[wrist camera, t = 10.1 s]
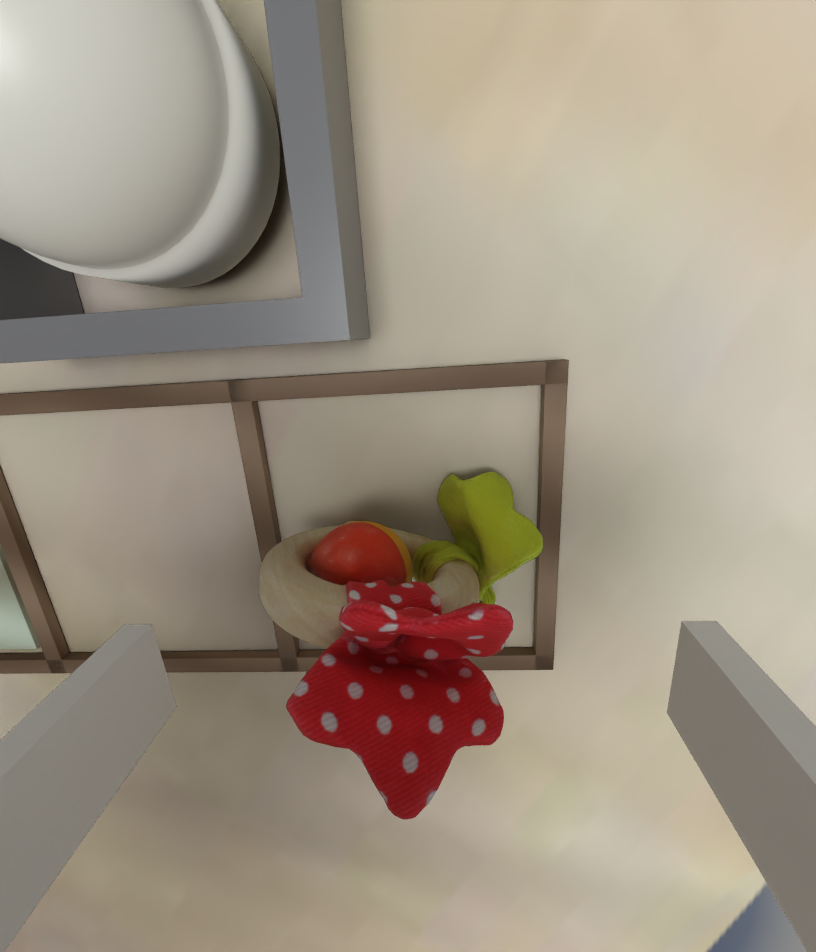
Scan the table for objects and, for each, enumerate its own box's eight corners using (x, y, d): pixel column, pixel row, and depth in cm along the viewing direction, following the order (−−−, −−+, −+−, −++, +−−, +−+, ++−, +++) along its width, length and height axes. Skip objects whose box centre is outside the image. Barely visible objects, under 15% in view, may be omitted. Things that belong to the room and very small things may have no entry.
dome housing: (370, 338, 16) (338, 341, 11) (-73, 367, 17) (-292, 383, 12) (331, -105, 12) (253, -430, 7) (-228, -22, 14) (-642, -243, 8)
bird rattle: (366, 571, 22) (555, 623, 18) (156, 753, 12) (458, 950, 8) (362, 450, 20) (572, 478, 16) (108, 555, 10) (471, 688, 6)
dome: (303, 280, 15) (176, 232, 8) (82, 297, 15) (-228, 268, 8) (263, -27, 12) (19, -536, 5) (2, 8, 13) (-545, -400, 6)
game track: (550, 661, 20) (553, 669, 20) (-149, 667, 23) (-161, 674, 22) (564, 359, 16) (568, 360, 15) (-296, 411, 19) (-315, 414, 18)
